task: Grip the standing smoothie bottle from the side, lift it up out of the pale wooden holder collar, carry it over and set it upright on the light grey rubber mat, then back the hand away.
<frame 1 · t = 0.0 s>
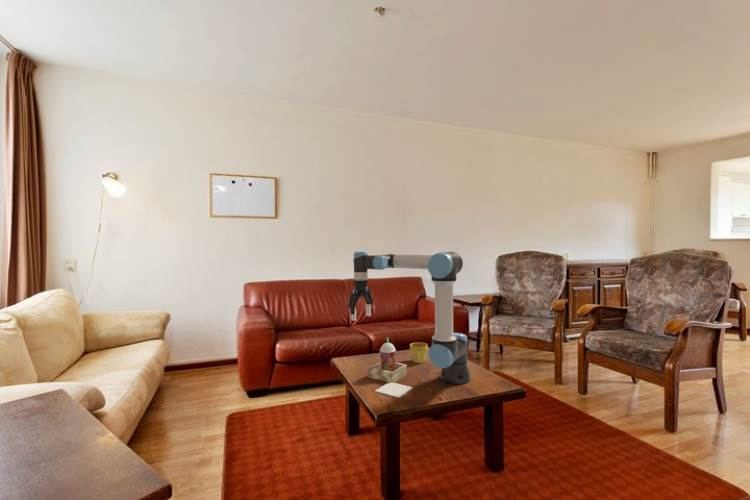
hand: (361, 318, 204), 28 cm above the table, tool pointing down, fingers open, 13 cm apart
plant pot: (418, 361, 216), on the table
mat: (394, 389, 175), on the table
smoothie: (388, 376, 194), resting in holder
holder: (388, 375, 194), on the table
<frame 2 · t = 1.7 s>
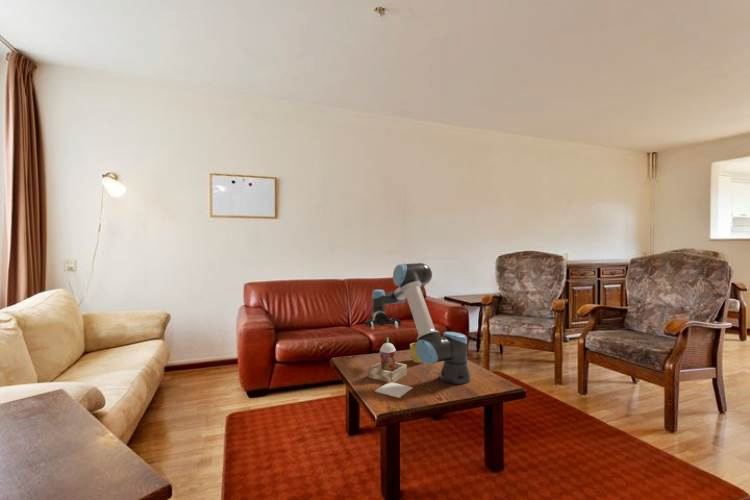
hand: (385, 326, 203), 24 cm above the table, tool horizontal, fingers open, 13 cm apart
nothing on the table moved.
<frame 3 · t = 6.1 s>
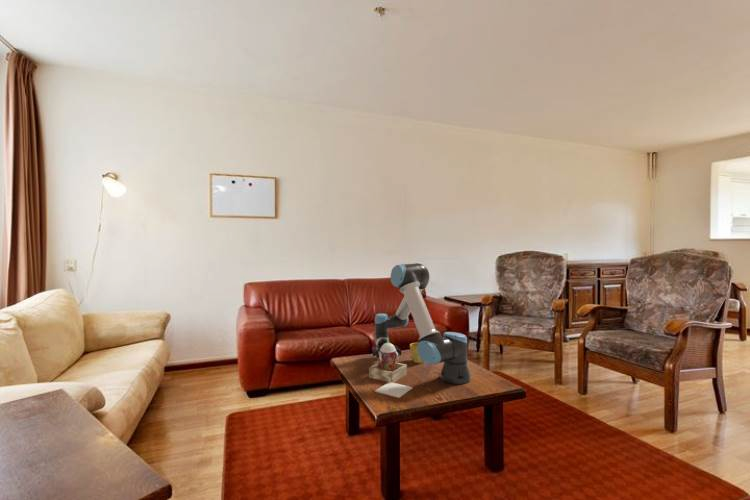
hand: (389, 357, 188), 11 cm above the table, tool horizontal, fingers closed on smoothie, 8 cm apart
smoothie: (388, 376, 194), resting in holder, touching gripper
everything else where it was.
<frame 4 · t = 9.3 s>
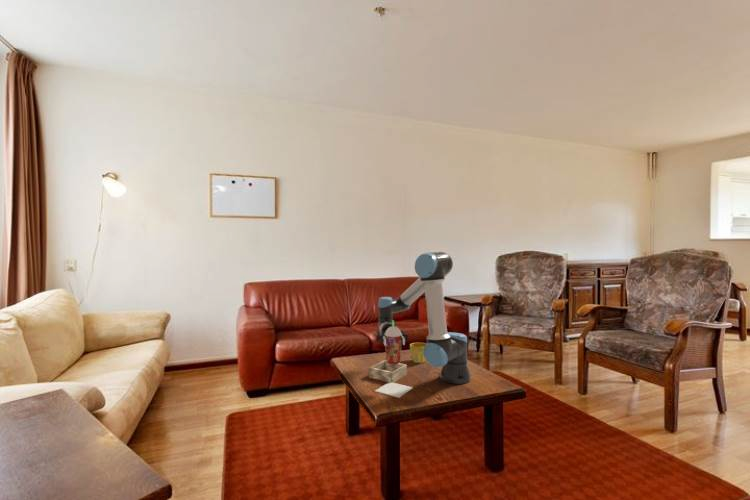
hand: (394, 342, 170), 24 cm above the table, tool horizontal, fingers closed on smoothie, 8 cm apart
smoothie: (393, 363, 175), point 13 cm above the table, touching gripper
everything else where it was.
when the fingers open (12 cm above the table, at t = 12.5 s): smoothie moves 2 cm, point 1 cm above the table.
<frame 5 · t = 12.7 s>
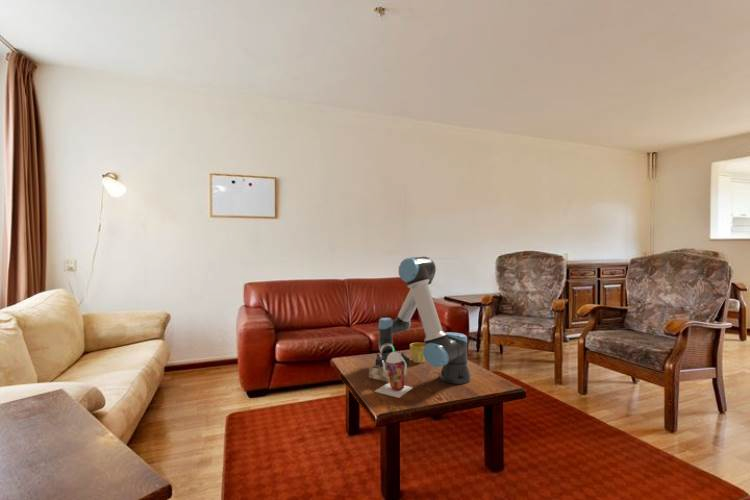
hand: (395, 367, 170), 12 cm above the table, tool horizontal, fingers open, 9 cm apart
smoothie: (398, 388, 175), point 1 cm above the table, touching gripper
everything else where it was.
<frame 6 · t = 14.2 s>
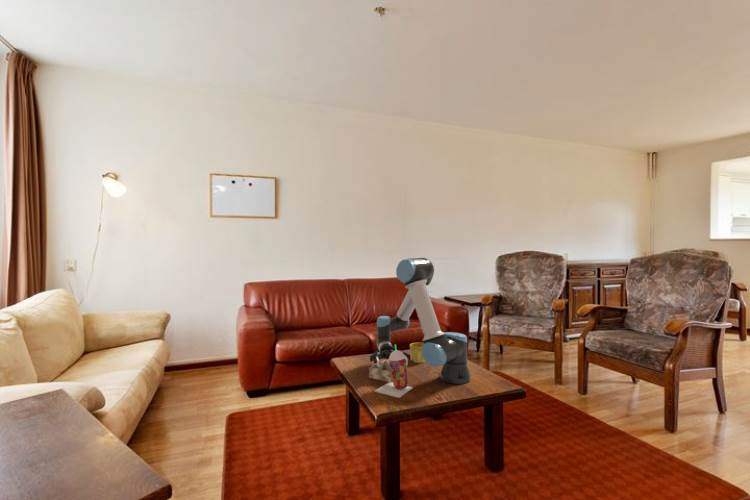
hand: (392, 363, 176), 12 cm above the table, tool horizontal, fingers open, 13 cm apart
smoothie: (401, 387, 176), point 1 cm above the table, touching mat
everything else where it was.
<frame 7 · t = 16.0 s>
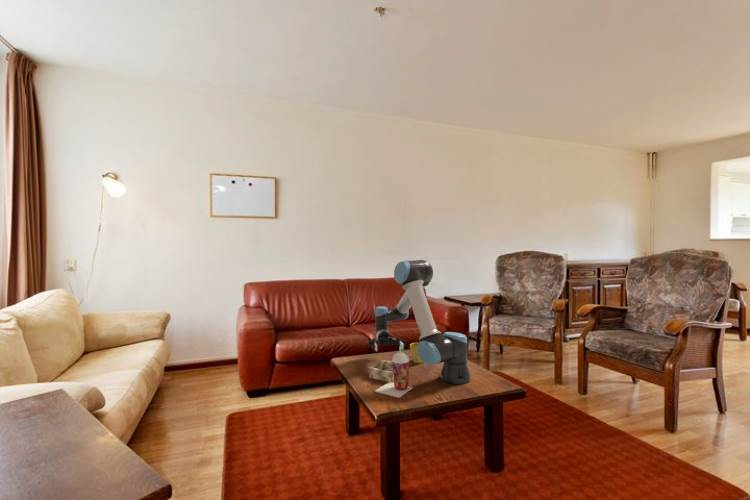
hand: (389, 347, 189), 16 cm above the table, tool horizontal, fingers open, 13 cm apart
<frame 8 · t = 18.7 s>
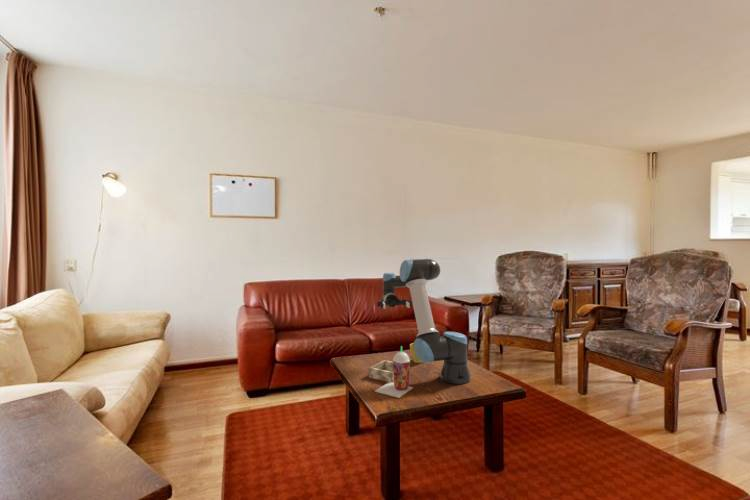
hand: (396, 306, 206), 34 cm above the table, tool horizontal, fingers open, 13 cm apart
at the end: smoothie inside the target area on the mat (3.6 cm from its centre), point 0.2 cm above the mat's base; smoothie tilted 1°; the gripper is holding nothing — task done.
